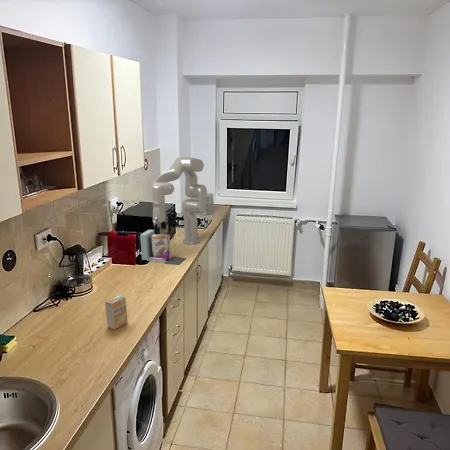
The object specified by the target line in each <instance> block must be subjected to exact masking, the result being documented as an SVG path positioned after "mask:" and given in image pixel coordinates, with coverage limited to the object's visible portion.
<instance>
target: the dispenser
mask: <svg viewBox="0 0 450 450" xmlns="http://www.w3.org/2000/svg"><path fill="white" fill-rule="evenodd" d="M152 235H156V233H155V229H147V230H146V231H144V232H142V233H140V236H139V238H140V247H141V248H140V249H141V250H140V251H141V261H142V260H147V261H150V262H151V263H152V262H153V263H163V264H165V263H166V262H167V260H166V258H165V257H164V258H153V252H152V242H151V236H152Z"/></svg>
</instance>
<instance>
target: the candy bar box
mask: <svg viewBox="0 0 450 450" xmlns="http://www.w3.org/2000/svg"><path fill="white" fill-rule="evenodd" d="M170 238H171V237H170V234H166V233H165V234H155V235H152V236H151V242H152V252H153V258H164V257H165V258H166V261H168V260H170V259H171V258H172V249H171V239H170Z"/></svg>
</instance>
